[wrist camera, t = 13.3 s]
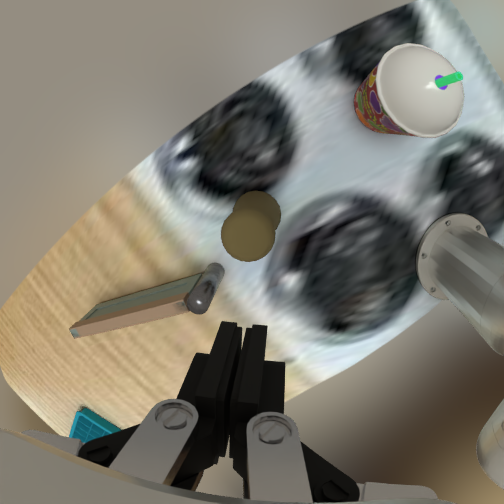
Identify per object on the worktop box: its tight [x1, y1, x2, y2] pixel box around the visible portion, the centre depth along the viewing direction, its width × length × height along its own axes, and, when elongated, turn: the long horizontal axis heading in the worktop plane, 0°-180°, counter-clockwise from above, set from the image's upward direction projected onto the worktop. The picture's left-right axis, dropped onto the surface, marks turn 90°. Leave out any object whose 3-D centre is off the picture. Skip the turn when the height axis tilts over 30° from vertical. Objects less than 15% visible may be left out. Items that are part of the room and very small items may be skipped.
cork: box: [221, 191, 281, 262], centre depth 34 cm, size 6×6×11 cm
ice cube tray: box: [69, 408, 121, 443], centre depth 58 cm, size 12×20×3 cm, turn 148°
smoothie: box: [354, 43, 464, 138], centre depth 24 cm, size 8×8×20 cm
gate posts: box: [187, 263, 224, 314], centre depth 41 cm, size 2×24×10 cm, turn 177°
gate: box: [69, 274, 202, 339], centre depth 40 cm, size 19×2×8 cm, turn 110°
